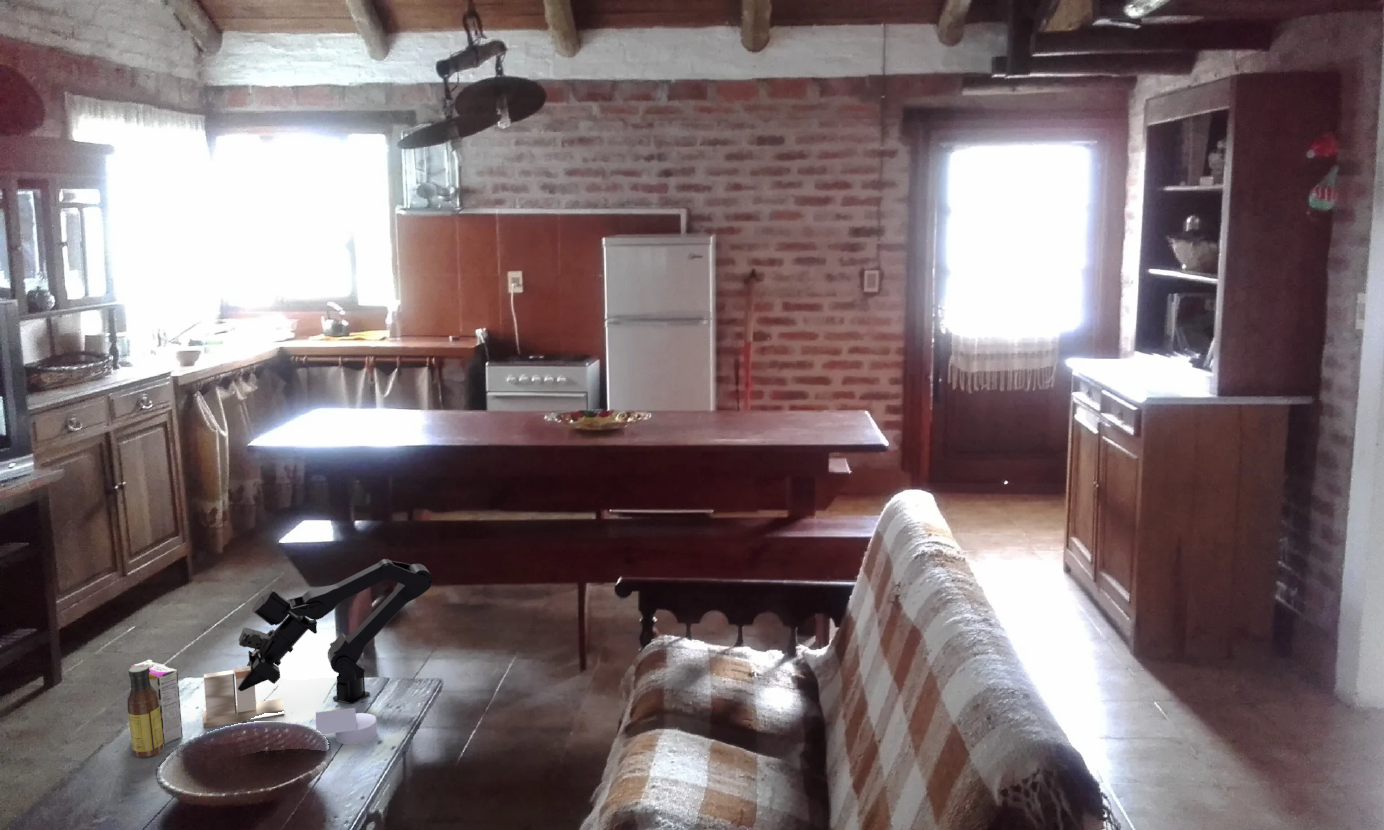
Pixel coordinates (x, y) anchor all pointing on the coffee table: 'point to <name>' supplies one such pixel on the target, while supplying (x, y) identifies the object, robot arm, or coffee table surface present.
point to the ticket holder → (229, 701)
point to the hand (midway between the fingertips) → (239, 687)
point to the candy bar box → (166, 698)
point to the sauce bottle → (144, 714)
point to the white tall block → (246, 697)
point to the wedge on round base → (347, 725)
